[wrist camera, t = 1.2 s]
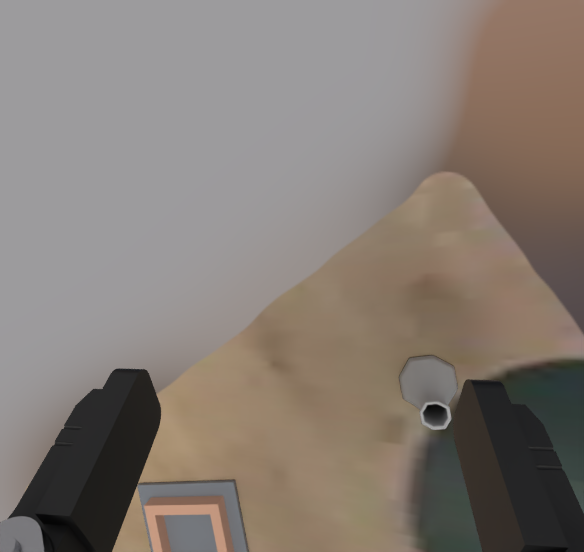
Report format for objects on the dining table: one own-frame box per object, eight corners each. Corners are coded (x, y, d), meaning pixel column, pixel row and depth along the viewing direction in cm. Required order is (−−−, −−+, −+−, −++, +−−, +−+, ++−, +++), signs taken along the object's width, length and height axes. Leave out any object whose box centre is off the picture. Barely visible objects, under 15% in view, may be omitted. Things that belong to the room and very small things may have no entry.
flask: (394, 402, 55) (394, 440, 45) (403, 349, 54) (405, 376, 44) (452, 414, 54) (466, 455, 44) (462, 359, 52) (478, 390, 43)
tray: (254, 581, 63) (248, 596, 60) (159, 579, 67) (150, 592, 64) (234, 479, 62) (228, 490, 59) (139, 483, 66) (129, 493, 63)
